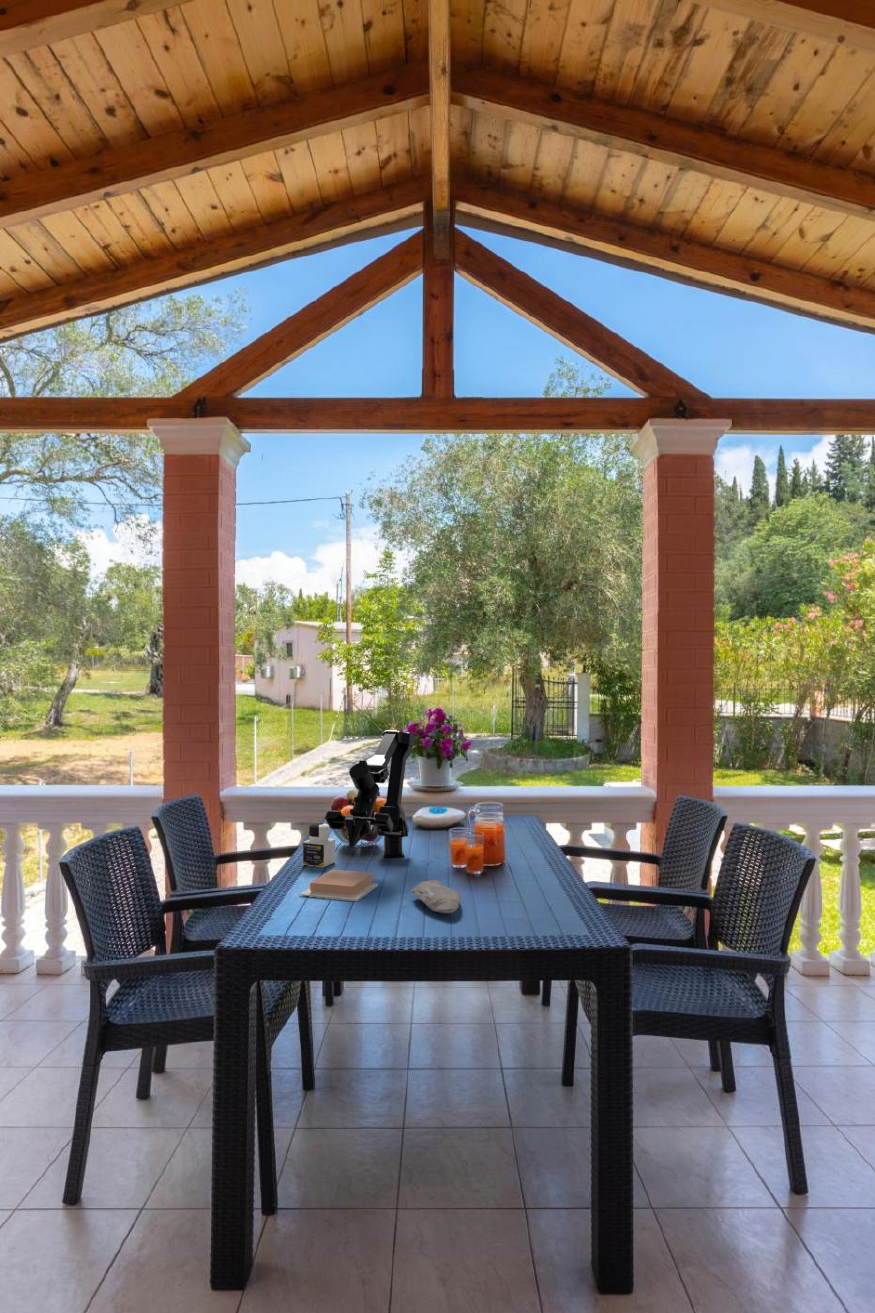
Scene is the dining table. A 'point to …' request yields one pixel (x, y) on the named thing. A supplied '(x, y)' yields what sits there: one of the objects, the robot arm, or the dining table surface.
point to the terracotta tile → (341, 882)
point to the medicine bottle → (319, 846)
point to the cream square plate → (341, 897)
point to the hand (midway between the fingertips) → (351, 847)
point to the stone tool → (437, 896)
